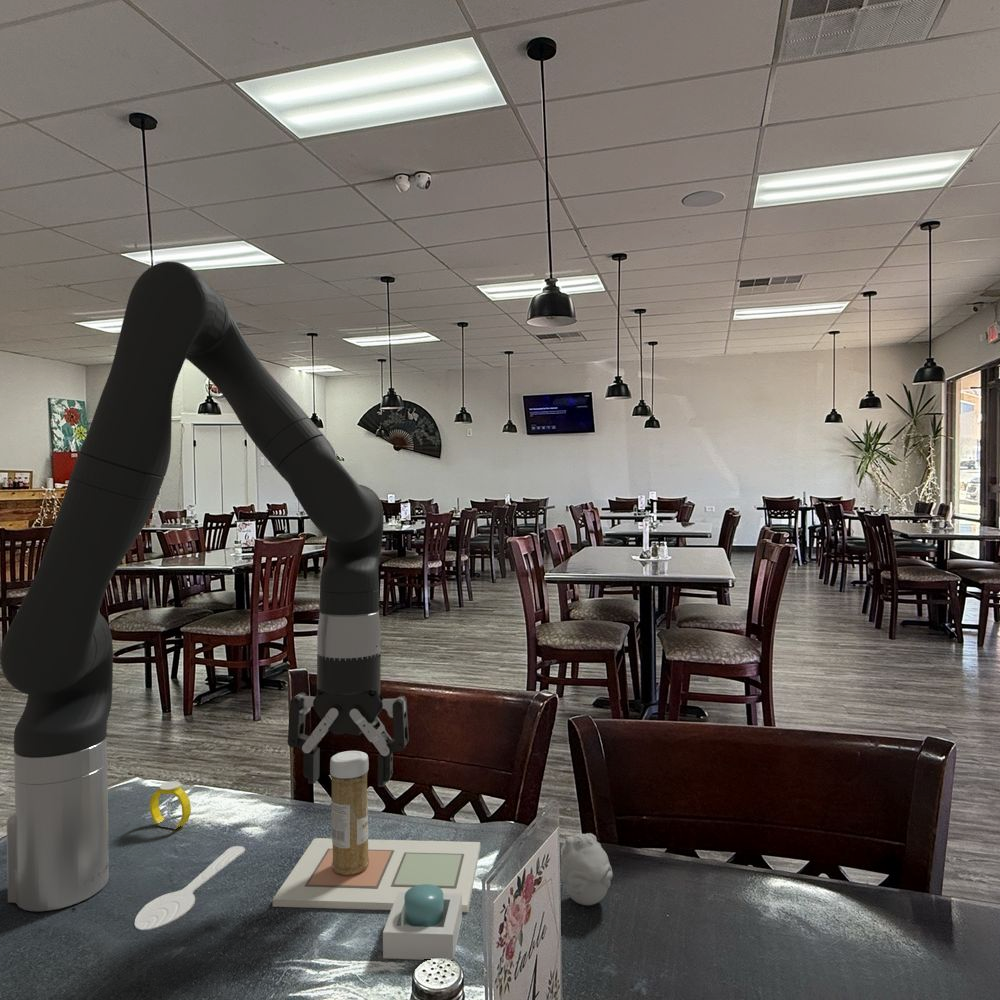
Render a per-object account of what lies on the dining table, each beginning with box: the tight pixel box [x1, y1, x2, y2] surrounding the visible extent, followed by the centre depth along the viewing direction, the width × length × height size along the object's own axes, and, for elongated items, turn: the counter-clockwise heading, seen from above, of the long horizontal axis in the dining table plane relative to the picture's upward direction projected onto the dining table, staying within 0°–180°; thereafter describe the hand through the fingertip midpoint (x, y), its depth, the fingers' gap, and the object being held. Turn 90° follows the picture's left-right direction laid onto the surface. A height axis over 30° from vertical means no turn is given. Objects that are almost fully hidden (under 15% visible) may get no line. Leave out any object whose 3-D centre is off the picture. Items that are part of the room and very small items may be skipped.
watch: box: [149, 780, 192, 829], centre depth 98 cm, size 6×3×6 cm, turn 72°
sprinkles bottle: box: [329, 750, 369, 875], centre depth 85 cm, size 5×5×14 cm
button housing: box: [382, 892, 463, 961], centre depth 72 cm, size 7×7×3 cm
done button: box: [404, 884, 443, 927], centre depth 72 cm, size 4×4×2 cm
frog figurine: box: [560, 832, 614, 906], centre depth 79 cm, size 6×7×7 cm
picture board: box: [272, 837, 481, 913], centre depth 84 cm, size 22×14×1 cm, turn 86°
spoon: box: [133, 845, 246, 931], centre depth 83 cm, size 5×18×1 cm, turn 167°
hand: (348, 782), depth 84 cm, fingers open, 8 cm apart
